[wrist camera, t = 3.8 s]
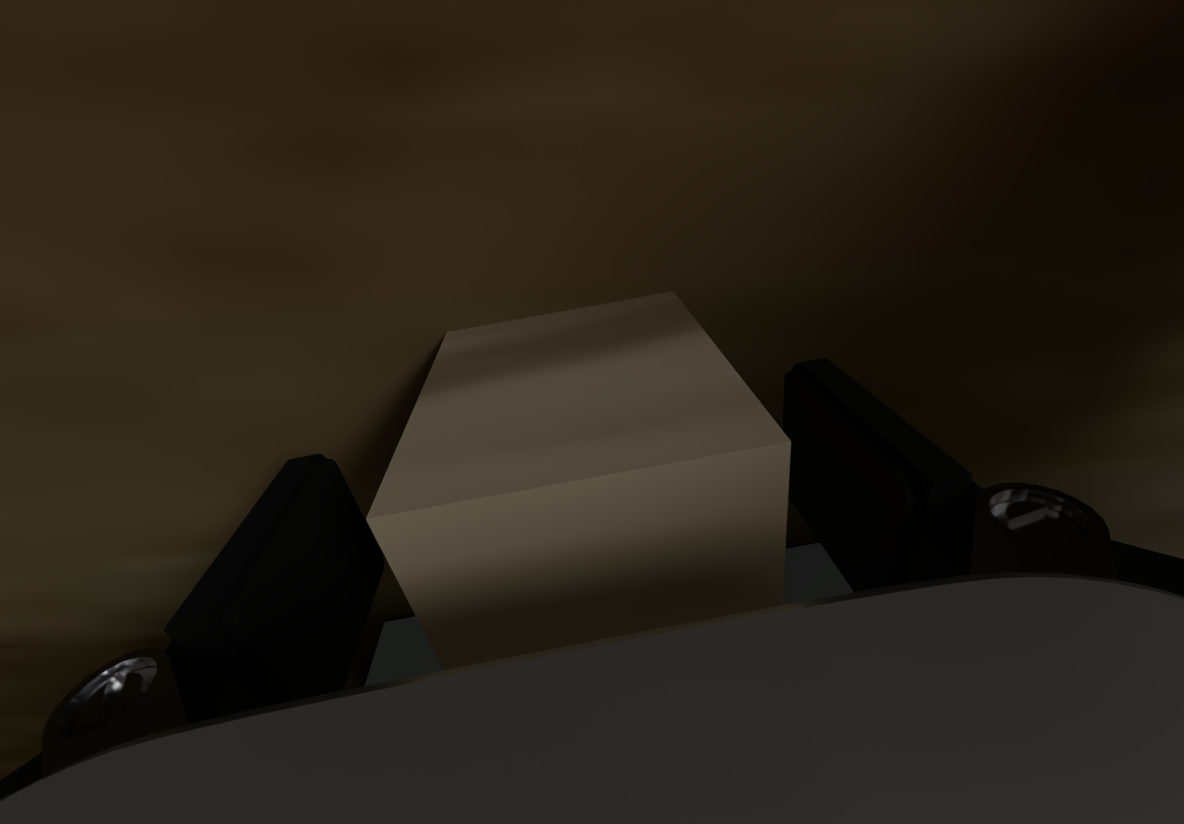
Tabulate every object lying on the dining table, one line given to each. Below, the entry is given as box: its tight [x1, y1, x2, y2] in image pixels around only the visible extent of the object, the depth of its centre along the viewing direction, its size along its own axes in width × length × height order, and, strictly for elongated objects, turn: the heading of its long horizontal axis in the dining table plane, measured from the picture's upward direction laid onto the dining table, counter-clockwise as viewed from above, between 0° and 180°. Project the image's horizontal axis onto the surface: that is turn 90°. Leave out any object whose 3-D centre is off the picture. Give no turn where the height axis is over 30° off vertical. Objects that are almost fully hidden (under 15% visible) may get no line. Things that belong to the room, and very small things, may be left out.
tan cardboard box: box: [366, 291, 791, 670], centre depth 10 cm, size 5×5×6 cm
